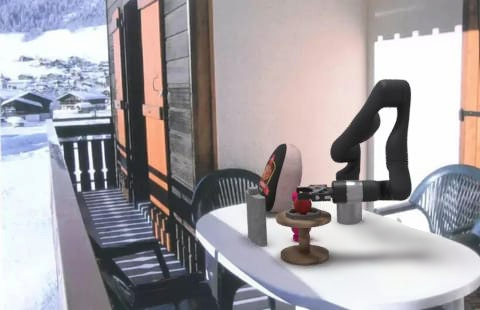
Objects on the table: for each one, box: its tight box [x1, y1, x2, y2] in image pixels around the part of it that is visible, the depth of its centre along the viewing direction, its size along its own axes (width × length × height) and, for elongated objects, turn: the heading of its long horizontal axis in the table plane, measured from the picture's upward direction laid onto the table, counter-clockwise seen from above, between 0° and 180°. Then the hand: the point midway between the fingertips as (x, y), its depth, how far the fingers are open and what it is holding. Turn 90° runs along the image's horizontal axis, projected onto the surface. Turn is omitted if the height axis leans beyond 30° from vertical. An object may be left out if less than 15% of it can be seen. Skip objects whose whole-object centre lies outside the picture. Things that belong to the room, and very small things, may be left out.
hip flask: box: [245, 186, 268, 248], centre depth 201 cm, size 16×4×20 cm, turn 16°
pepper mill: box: [290, 185, 312, 243], centre depth 199 cm, size 7×7×20 cm
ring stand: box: [275, 206, 332, 266], centre depth 181 cm, size 18×18×16 cm
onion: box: [293, 192, 313, 215], centre depth 180 cm, size 6×6×8 cm
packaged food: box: [257, 142, 303, 214], centre depth 239 cm, size 22×20×30 cm
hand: (296, 193), depth 180 cm, fingers open, 8 cm apart
